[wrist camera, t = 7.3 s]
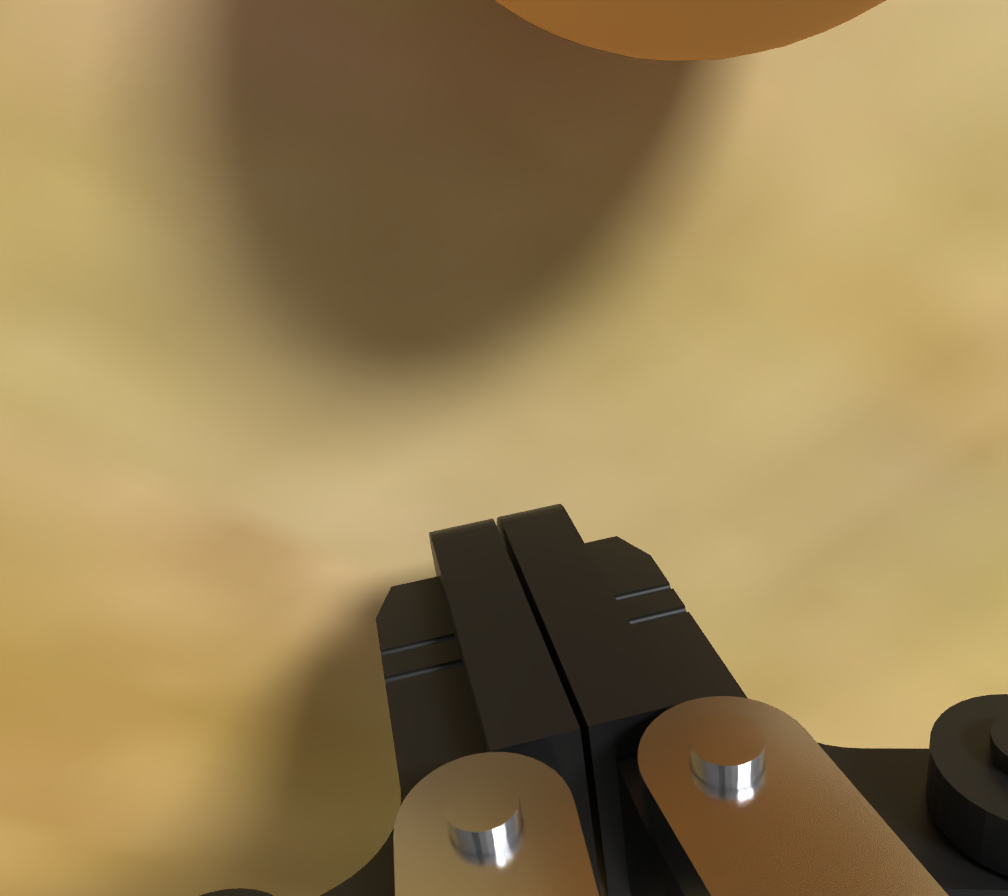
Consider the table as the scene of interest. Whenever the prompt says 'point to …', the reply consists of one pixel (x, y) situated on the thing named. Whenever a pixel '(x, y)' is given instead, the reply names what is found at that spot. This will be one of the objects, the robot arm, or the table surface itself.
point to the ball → (687, 24)
